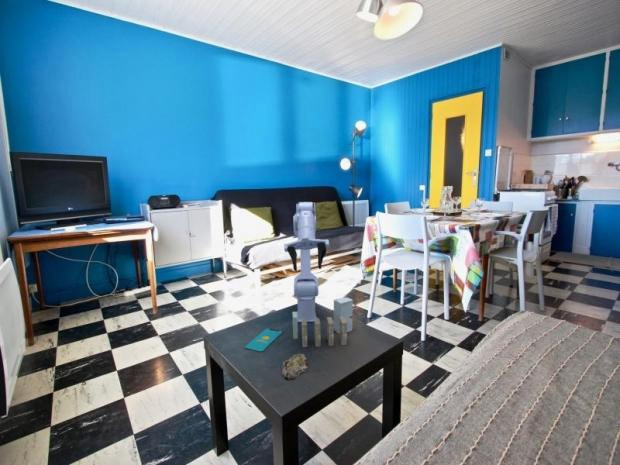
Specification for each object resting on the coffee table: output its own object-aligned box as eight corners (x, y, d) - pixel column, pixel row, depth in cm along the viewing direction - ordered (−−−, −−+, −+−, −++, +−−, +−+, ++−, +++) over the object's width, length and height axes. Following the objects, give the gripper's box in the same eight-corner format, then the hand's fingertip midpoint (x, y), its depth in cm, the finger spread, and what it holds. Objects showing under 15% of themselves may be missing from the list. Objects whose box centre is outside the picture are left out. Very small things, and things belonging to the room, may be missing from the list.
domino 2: (302, 347, 104) (302, 325, 102) (301, 339, 108) (301, 318, 107) (307, 346, 104) (307, 324, 102) (306, 339, 109) (306, 318, 107)
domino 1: (293, 338, 109) (292, 317, 108) (293, 332, 114) (292, 311, 113) (297, 338, 109) (297, 317, 108) (297, 331, 114) (296, 311, 113)
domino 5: (342, 345, 105) (342, 323, 103) (339, 337, 109) (339, 316, 108) (346, 344, 105) (346, 322, 103) (343, 337, 110) (344, 316, 108)
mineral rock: (287, 351, 97) (309, 348, 94) (290, 363, 98) (313, 361, 95) (272, 371, 87) (296, 369, 85) (276, 385, 88) (301, 384, 85)
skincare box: (340, 335, 111) (340, 303, 110) (332, 330, 115) (332, 299, 113) (353, 330, 115) (353, 299, 113) (345, 325, 119) (345, 296, 117)
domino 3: (315, 346, 104) (315, 324, 103) (314, 339, 109) (314, 317, 108) (320, 346, 104) (320, 324, 103) (318, 338, 109) (318, 317, 108)
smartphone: (243, 347, 103) (266, 327, 117) (243, 349, 103) (266, 329, 117) (262, 351, 100) (283, 331, 114) (262, 354, 100) (283, 333, 114)
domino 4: (329, 345, 104) (329, 323, 103) (327, 338, 109) (327, 317, 108) (333, 345, 104) (333, 323, 103) (331, 338, 109) (331, 317, 108)
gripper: (282, 227, 100) (281, 264, 92) (326, 222, 98) (329, 260, 91) (286, 239, 105) (286, 274, 98) (328, 234, 104) (331, 270, 96)
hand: (307, 268), depth 95 cm, fingers open, 7 cm apart
